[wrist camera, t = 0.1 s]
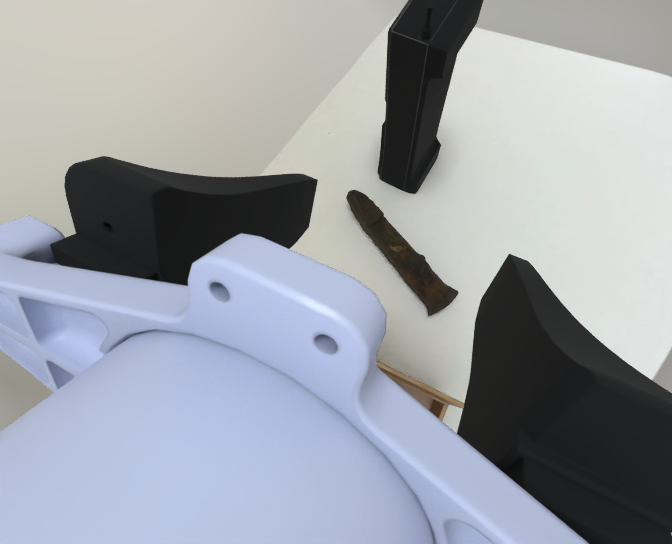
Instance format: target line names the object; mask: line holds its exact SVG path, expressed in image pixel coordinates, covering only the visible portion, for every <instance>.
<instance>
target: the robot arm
mask: <svg viewBox="0 0 672 544" xmlns="http://www.w3.org/2000/svg"><path fill="white" fill-rule="evenodd" d="M317 181H318V180H317V179H314V178H312V177H309V176H306V175H304V174H281V175H269V176H256V177H234V178H232V177H207V176H197V175H189V174H180V173H174V172H168V171H163V170H158V169H153V168H148V167H144V166H140V165H136V164H132V163H129V162H125V161H121V160H117V159H114V158H111V157H105V156H102V157H98V158H94V159H91V160H86V161H82V162H78V163H75V164H73V165H72V166H71V167H69V169H68V171H67V173H66V176H65V191H66V197H67V201H68V205H69V208H70V212H71V216H72V219H73V223H74V227H75V231H76V234H74V235H71V236H69V237H66V238H65V237H64V236H63V235H62V233H61V232H60V231H59V230H57V229H56V228H54V227H52V226H50V225H48V224H46V223H44V222H42V221H40V220H38V219H36V218H34V217H32V216H26V217H23V218H20V219H17V220H14V221H11V222H8V223H5V224H2V225H0V350H1V351H3V352H4V353H5V354H7V355H8V356H9V357H11V358H12V359H13V360H14V361H16V362H17V363H18V364H19V365H21V366H22V367H23V368H25V369H26V370H27V371H28V372H30V373H31V374H32V375H33V376H35V377H36V378H37V379H38V380H39V381H40V382H42V383H43V384H44V385H45V386H47V387H48V388H49V389H50V390H51V391H53V392H54V393H53V394H51V395H50V396H49V397H47V398H46V399H45V400H43V401H42V402H40V403H39V404H38V405H37V406H35V407H34V408H32V409H31V410H30V411H28V412H27V413H26V414H24V415H23V416H21V417H20V418H19V419H17V420H16V421H15V422H13V423H12V424H11V425H9V426H8V427H6V428H5V429H4V430H2V431H1V432H0V544H672V536H671V533H670V532H672V393H670V392H669V391H667V390H666V389H664V388H662V387H661V386H659V385H658V384H656V383H655V382H653V381H652V380H650V379H649V378H648V377H646V376H645V375H643V374H642V373H640V372H639V371H637V370H636V369H634V368H633V367H632V366H630V365H629V364H628V363H626V362H625V361H624V360H622V359H621V358H620V357H618V356H617V355H616V354H615V353H613V352H612V351H611V350H610V349H608V348H607V347H606V346H605V345H603V344H602V343H601V342H600V341H599V340H598V339H596V338H595V337H594V336H593V335H592V334H591V333H590V332H589V331H588V330H587V329H586V328H585V327H584V326H583V325H581V324H580V323H579V322H578V321H577V319H576V318H575V317H574V316H573V315H572V314H571V313H570V312H569V311H568V310H567V309H566V307H565V306H564V305H563V304H562V303H561V302H560V300H559V299H558V298H557V297H556V296H555V294H554V293H553V292H552V291H551V289H550V288H549V287H548V285H547V284H546V283H545V281H544V280H543V279H542V277H541V276H540V275H539V273H538V272H537V271H536V270H535V268H534V267H533V266H532V265H531V264H530V263H529V262H528V261H526V260H524V259H521V258H518V257H516V256H513V255H511V254H509V255H508V257H507V258H506V260H505V262H504V263H503V265H502V266H501V268H500V270H499V271H498V273H497V275H496V276H495V278H494V279H493V281H492V283H491V284H490V286H489V288H488V289H487V291H486V292H485V294H484V296H483V297H482V299H481V302H480V306H479V309H478V313H477V317H476V321H475V330H474V340H473V352H472V363H471V373H470V380H469V386H468V390H467V394H466V399H465V403H464V408H463V412H462V416H461V420H460V424H459V428H458V432H457V433H455V432H454V431H453V430H452V429H451V428H449V427H448V426H447V425H446V424H445V423H443V422H442V421H441V420H440V419H438V418H437V417H436V416H435V415H434V414H432V413H431V412H430V411H429V410H428V409H426V408H425V407H424V406H423V405H422V404H420V403H419V402H418V401H417V400H416V399H414V398H413V397H412V396H411V395H410V394H408V393H407V392H406V391H405V390H404V389H402V388H401V387H400V386H399V385H398V384H396V383H395V382H394V381H393V380H391V379H390V378H389V377H388V376H387V375H385V374H384V373H383V372H382V371H381V370H380V369H379V367H378V366H377V363H376V357H377V352H378V349H379V347H380V344H381V342H382V340H383V337H384V335H385V330H386V312H385V310H384V308H383V307H382V305H381V303H380V301H379V299H378V298H377V296H376V294H375V293H374V292H373V291H372V290H370V289H369V288H367V287H366V286H365V285H363V284H362V283H361V282H359V281H358V280H356V279H355V278H353V277H351V276H349V275H347V274H344V273H342V272H340V271H338V270H335V269H333V268H331V267H329V266H326V265H324V264H322V263H319V262H317V261H315V260H313V259H310V258H308V257H306V256H304V255H301V254H299V253H297V252H295V251H292V250H290V248H291V247H292V246H293V245H294V244H295V243H296V242H297V241H298V240H299V238H300V237H301V236H302V235H303V234H304V232H305V231H306V230H307V228H308V227H309V223H310V218H311V212H312V207H313V202H314V197H315V191H316V186H317Z"/></svg>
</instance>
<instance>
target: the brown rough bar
mask: <svg viewBox="0 0 672 544" xmlns="http://www.w3.org/2000/svg"><path fill="white" fill-rule="evenodd" d="M346 198H347V200H348V202H349V204H350V206H351V210H352V211H353V213H354V214H355V217H356V219H357V220H358V221H359V223H360V225H361V227H362V228H363V230H364V231H365V232H366V233H367V234H369V235H370V237H371V238H372V239H373V240H374V242H375V243H376V244H377V246H378V247H379V248H380V249H381V251H382V252H383V253H384V254H385V256H386V257H387V258H388V260H389V261H390V262H391V263H392V264H393V265H394V266H395V268H396V269H397V270H398V271H399V273H400V275H402V277H403V278H404V280H405V281H406V282H407V284H408V285H409V286H411V288H412V289H413V290H414V291H415V292H416V293H417V294H418V296H419V297H420V298H421V299H422V300H423V302H424V303H425V304H426V306H427V308H428V315H432V314H435V313H437V312H438V311H440V310H442V309H443V308H445V307H446V306H448V305H449V304H450V303H451V302H452V301H453V299H454V298H455V297H456V296H457V295H458V291H457V290H455V289H453V288H451V287H450V286H447V285H446V284H445V283H444V282H443V281H442V280H441V279H440V278H439V277H438V275H436V274H435V272H434V271H433V270H432V269H431V267H430V266H429V264H428V263H427V262H426V260H425V257H424V256H423V255H419V254H418V253H417V252H416V251H415V250H414V249H413V248H412V247H411V246H410V245H409V243H408V242H407V241H406V240H405V239H404V238H403V237H402V236H401V235H400V234H399V233H398V232H397V231H396V229H395V228H394V227H393V226H392V225H391V224H390V223H389V222H388V221H387V219H386V218H385V217H384V214H383V212H382V211H381V210H380V209H379V207H377V206H376V205H375V204H374V202H373V201H372V200H370V199H369V198H368V197H367V196H366V195H365V194H363V193H361V192H359V191H356V190H352V191H349V192H348V195H347V197H346Z"/></svg>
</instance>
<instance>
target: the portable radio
mask: <svg viewBox="0 0 672 544" xmlns="http://www.w3.org/2000/svg"><path fill="white" fill-rule="evenodd" d="M482 3H483V0H409V1H408V2H407V4H406V5H405V6H404V8H403V9H402V11H401V13H400V14H399V15H398V17H397V18H396V20H395V21H394V22H393V24H392V25H391V27H390V28H389V31H388V46H387V69H386V92H385V101H386V118H385V122H384V123H383V125H382V136H381V150H380V160H379V166H378V174H379V175H380V179H381V180H383V181H385V182H387V183H389V184H391V185H393V186H395V187H397V188H399V189H401V190H403V191H407V192H412V193H416V192H417V191H418V189H419V188H420V186H421V184H422V183H423V181H424V179H425V178H426V176H427V174H428V173H429V171H430V169H431V168H432V166H433V164H434V163H435V161H436V159H437V157H438V153H439V150H440V147H441V144H440V143H439V141H438V140H437V137H436V135H437V131H438V127H439V123H440V119H441V115H442V111H443V107H444V103H445V99H446V96H447V92H448V88H449V84H450V80H451V76H452V72H453V69H454V65H455V61H456V57H457V53H458V52H459V50H460V49H461V47H462V45H463V44H464V42H465V41H466V39H467V37H468V36H469V34H470V33H471V31H472V29H473V28H474V26H475V25H476V23H477V20H478V17H479V13H480V10H481V6H482Z"/></svg>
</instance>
